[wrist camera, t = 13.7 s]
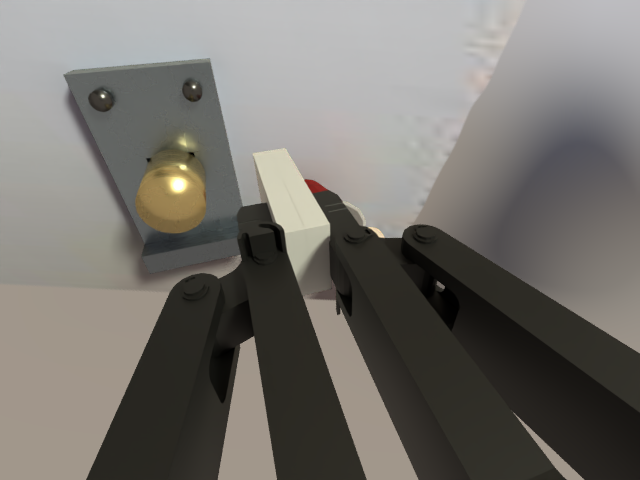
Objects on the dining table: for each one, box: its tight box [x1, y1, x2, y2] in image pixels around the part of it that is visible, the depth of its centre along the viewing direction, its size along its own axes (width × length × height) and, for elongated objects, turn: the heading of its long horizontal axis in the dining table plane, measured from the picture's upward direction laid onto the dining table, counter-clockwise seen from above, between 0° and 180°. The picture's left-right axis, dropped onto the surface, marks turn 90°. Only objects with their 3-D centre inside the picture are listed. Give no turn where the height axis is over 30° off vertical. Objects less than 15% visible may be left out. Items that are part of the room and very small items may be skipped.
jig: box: [64, 59, 243, 274], centre depth 39 cm, size 24×14×6 cm, turn 4°
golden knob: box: [135, 149, 206, 233], centre depth 37 cm, size 7×7×10 cm
